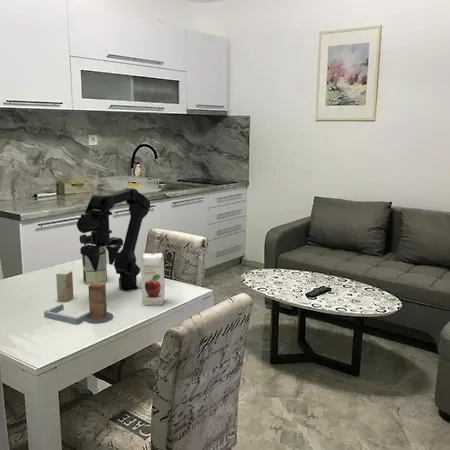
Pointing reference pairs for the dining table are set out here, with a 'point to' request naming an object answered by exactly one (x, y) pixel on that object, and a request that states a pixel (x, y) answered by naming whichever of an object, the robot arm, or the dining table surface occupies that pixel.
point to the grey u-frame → (54, 315)
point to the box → (64, 285)
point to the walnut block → (97, 300)
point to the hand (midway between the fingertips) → (103, 267)
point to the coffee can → (89, 272)
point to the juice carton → (152, 279)
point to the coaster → (105, 319)
